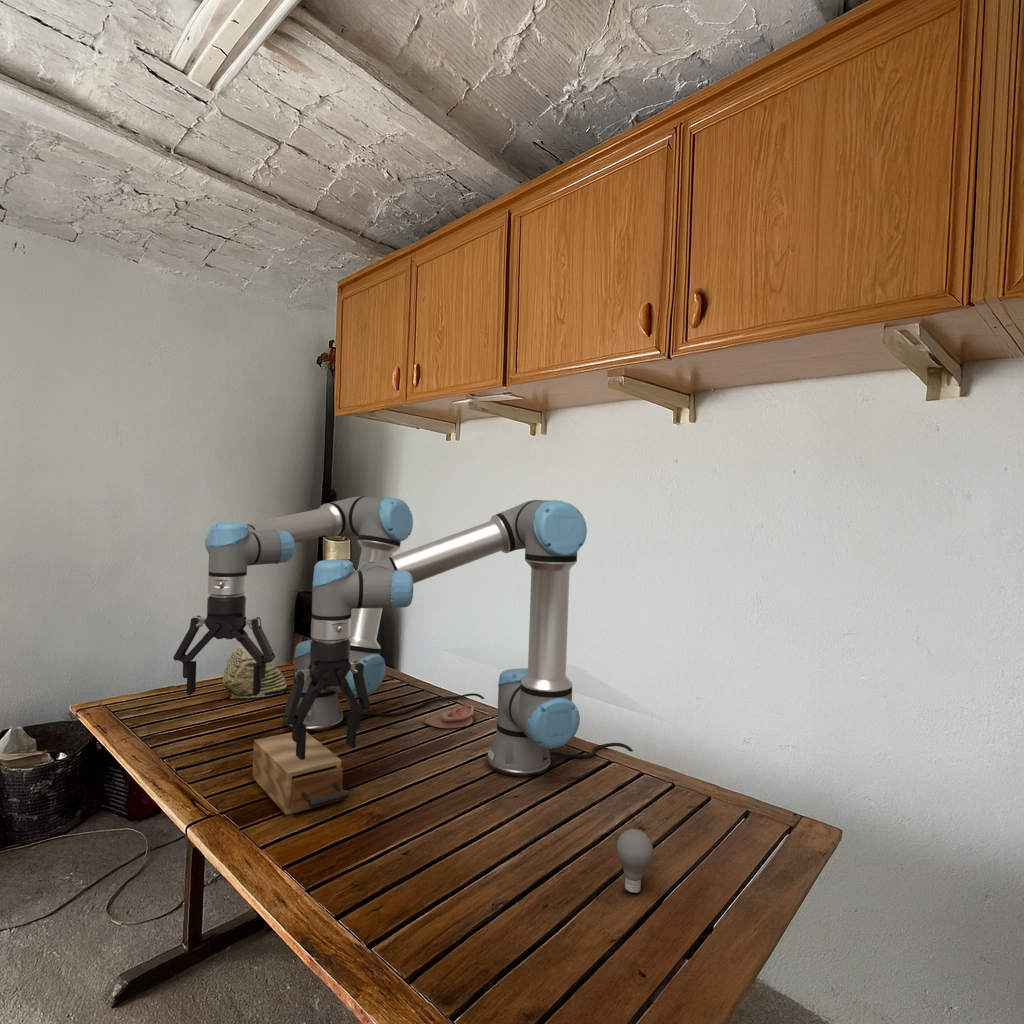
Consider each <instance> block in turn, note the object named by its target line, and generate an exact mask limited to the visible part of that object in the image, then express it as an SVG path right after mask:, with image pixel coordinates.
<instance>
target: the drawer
mask: <svg viewBox="0 0 1024 1024" xmlns="http://www.w3.org/2000/svg"><path fill="white" fill-rule="evenodd" d="M343 780H344V768H343V767H342V766H341V767H338V768H334V767H329V768H325V769H321V770H317V771H313V772H309V773H305V774H301V775H297V776H293V777H292V791H291V812H292V813H291V814H296V813H300V812H303V811H307V810H311V809H314V808H318V807H321V806H325V805H328V804H331V803H336V802H339V801H342V800H344V799H347V798H350V797H349V796H350V792H349V790H348V789H346V790H345V789H344V788H343V782H344V781H343Z"/></svg>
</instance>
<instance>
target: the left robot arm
mask: <svg viewBox="0 0 1024 1024" xmlns="http://www.w3.org/2000/svg"><path fill="white" fill-rule="evenodd" d="M413 517H414V516H413V514H412V511H411V509H410V506H409V505H408V504H407V503H406V502H405V501H404V500H402V499H400V498H397V497H390V496H386V497H385V496H384V497H383V496H363V495H361V496H352V497H348V498H344V499H339V500H335V501H332V502H328V503H323V504H322V505H320V506H319V507H318V508H317V509H312V510H308V511H302V512H298V513H293V514H288V515H283V516H279V517H274V518H269V519H264V520H260V521H254V522H249V523H242V522H215V523H213V524H211V526H210V529H209V531H208V533H207V534H206V536H205V540H204V546H205V550H206V552H207V553H208V575H207V594H208V595H209V596H208V597H207V599H206V617H201V615H196V616H193V617H192V618H191V619H190V621H189V622H190V623H189V628H188V630H187V632H186V633H185V635H184V638H183V639H182V640H181V643H180V644H179V646H178V648H177V650H176V651H175V653H174V655H173V660H174V661H176V662H177V661H178V662H181V664H182V677H183V679H186V696H191V695H192V694H194V693H196V690H197V689H196V687H197V686H196V684H197V660H194V659H195V657H197V655H198V654H199V653H200V652H201V651H202V650H203V649H204V648H205V647H206V646H207V645H208V643H209V642H210V641H211V640H212V639H214V638H215V639H216V640H222V639H225V640H232V639H235V640H236V641H237V642H239V643H240V644H241V645H242V647H244V648H245V649H246V650H247V651H248V653H249V654H250V655H251V656H252V657H253V659H254V660H255V661H256V662H257V663H256V664H255V665H254V673H253V696H257V695H258V694H259V693H260V687H261V679H263V678H264V677H265V675H266V663H268V662H271V661H272V660H273V661H274V660H275V659H276V655H275V652H274V651H273V649H272V646H271V644H270V642H269V640H268V638H267V635H266V633H265V631H264V629H263V628H262V619H261V617H260V616H256V617H254V618H247V617H246V612H247V611H246V610H247V607H246V605H247V597H246V595H245V594H246V593H247V575H248V572H247V571H248V567H250V566H259V565H273V564H274V565H278V564H281V563H287V562H289V561H290V560H291V559H292V558H293V556H294V555H295V551H296V544H297V543H302V542H306V541H310V540H313V539H317V538H320V537H324V536H325V537H328V538H336V537H340V536H343V537H344V536H346V537H348V536H349V537H357V543H358V544H359V546H360V547H361V552H360V557H359V561H358V566H357V569H358V568H359V567H360V566H361V565H363V564H365V563H368V562H378V561H381V560H383V559H386V558H390V557H392V556H394V554H395V553H396V552H397V551H399V550H400V548H401V542H404V541H405V540H407V539H408V538H409V536H411V534H412V531H413V528H414V526H413V525H414V518H413ZM382 613H383V608H360V609H356V608H354V609H352V610H351V631H350V637H349V638H347V639H349V641H350V656H349V662H350V663H354V662H355V661H358V662H360V663H362V664H364V671H363V677H364V681H365V686H366V690H367V694H368V697H370V696H371V695H372V694H374V693H375V692H376V691H377V690H378V689H379V688H380V686H381V685H382V683H383V681H384V679H385V675H386V671H387V668H386V667H387V666H386V663H385V659H384V657H382V656H381V655H380V652H381V649H382V648H381V645H380V644H379V642H378V640H377V638H378V634H379V629H380V622H381V619H382ZM203 626H205V627H206V628H207V630H208V631H207V632H206V633H205V634H204V635H203V636H202V638H200V640H199V641H198V642H197V643H196V644H195V646H193V648H192V649H191V650H189V649H190V646H191V644H192V642H193V641H194V639H195V637H196V636H197V633H198V632H199V630H200V628H202V627H203ZM246 626H248V628H249V629H250V630H252V634H253V635H254V638H255V640H256V642H257V644H258V646H259V647H258V646H257V645H256V644H255V643H254V641H253V640H252V638H250V637H249V634H248V632H247V631H246V630H245V627H246ZM312 640H313V639H308V640H304V641H302V642H299V643H298V644H297V645H296V647H295V652H294V653H295V654H294V657H293V659H294V660H293V662H294V663H293V665H294V667H293V671H294V670H296V669H298V670H304V669H308V667H309V665H310V646H311V641H312ZM258 648H261V650H262V652H263V653H262V652H261V651H260V650H259V649H258ZM188 650H189V652H188V653H187V651H188ZM263 654H264V655H263ZM345 678H346V680H347V682H348V683H349V687H350V689H351V691H352V692H353V694H354V696H355V698H358V697H357V692H356V688H355V683H354V679H353V673H352V672H351V669H350V670H349V672H348V673H347V675H346V676H345ZM311 680H312V678H311V677H310V675H308V676H307V680H306V681H304V687H303V691H302V694H301V697H300V701H299V704H298V706H299V705H300V703H301V701H302V699H303V697H304V695H305V693H306V692H307V690H308V686H309V684H310V682H311ZM338 694H342V695H343V693H342V692H341V690H340V688H339V686H330V687H328V688H322V690H321V692H320V693H319V694H318V695H317V697H316V699H315V701H314V703H313V705H312V706H311V708H310V710H309V712H308V714H307V716H306V718H305V720H304V722H303V723H304V724H305V725H306V732H307V733H316V732H325V731H329V730H332V729H335V728H337V727H339V726H340V725H342V723H343V722H344V715H345V716H347V712H348V711H343V709H342V706H341V702H340V699H339V695H338ZM471 696H473V697H478V698H480V699H481V700H485V697H484V696H483V695H481V694H479V693H476V692H475V693H474V692H473V693H465V694H460V695H453V696H452V695H451V696H442V697H437V698H432V699H429V700H426V701H424V702H421V703H420V704H418V705H415V706H413V707H410V708H408V709H405V710H400V711H397V712H373V711H371V712H370V711H364V712H363V714H362V715H361V716H379V717H381V716H382V717H390V716H399V715H403V714H407V713H410V712H412V711H414V710H416V709H419V708H422V707H423V706H425V705H428V704H430V703H433V702H437V701H444V700H453V699H462V698H465V697H471ZM285 726H286V728H287V729H289V730H292V725H289V724H287V723H286V722H285Z"/></svg>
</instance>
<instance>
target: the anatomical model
mask: <svg viewBox="0 0 1024 1024" xmlns="http://www.w3.org/2000/svg"><path fill="white" fill-rule="evenodd" d="M474 713H475V707H474V706H473V705H472V704H467V705H462V706H459V707H454V708H452V709H450V710H447V711H444V712H441V713H437V714H434V715H432V716H429V717H428V718H426V719H425V720H424V723H425V724H426V725H429V726H431V727H434V728H437V729H457V728H463V727H468V726H470V725H472V724H473V723H474V718H473V717H472V716H473V715H474Z"/></svg>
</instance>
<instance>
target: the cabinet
mask: <svg viewBox="0 0 1024 1024" xmlns="http://www.w3.org/2000/svg"><path fill="white" fill-rule="evenodd" d="M252 752H253V753H252V755H253V756H252V779H253V780H254V781H255V782H256V783H257V784H258V785H259V786H260V787H261V789H262V790H263V791H264V792H265V793H266V794H267V796H268V797H269V798H271V800H272V801H273V802H274V803H275V805H276V806H277V807H278V808H279V809H280V810H281V811H282V813H284V815H286V816H288V815H292V814H293V813H292V812H291V791H292V777H293V776H297V775H301V774H305V773H309V772H313V771H317V770H321V769H325V768H329V767H334V768H338V767H341V768H342V759H341V758H340V757H339V756H337V755H336V754H335V753H334V752H333V751H331V750H330V749H329V748H327V747H326V746H325V745H323V744H322V743H321V741H318V740H317V739H316V738H315V737H313V735H311V734H309V732H306V748H305V759H304V760H300V759H299V758H298V757H297V756H296V742H294V741H293V739H292V731H291V732H287V733H282V734H277V735H272V736H268V737H267V736H266V737H261V738H258V739H254V740H253V751H252Z"/></svg>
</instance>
